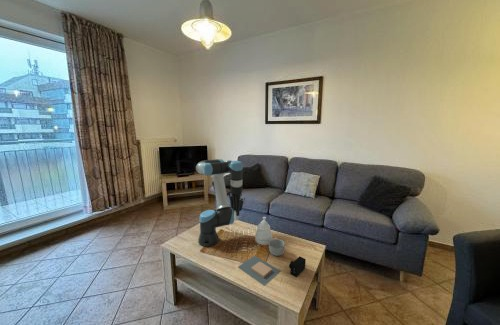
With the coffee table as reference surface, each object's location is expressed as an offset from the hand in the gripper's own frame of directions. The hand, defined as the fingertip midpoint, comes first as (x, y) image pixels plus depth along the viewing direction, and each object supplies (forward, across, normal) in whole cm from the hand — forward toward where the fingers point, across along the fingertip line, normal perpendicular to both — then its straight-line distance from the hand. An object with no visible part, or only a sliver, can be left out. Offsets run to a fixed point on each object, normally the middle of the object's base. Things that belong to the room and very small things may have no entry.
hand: (236, 219), depth 137 cm
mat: (+26, +21, -1) cm, 33 cm away
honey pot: (+27, +3, +27) cm, 38 cm away
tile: (+25, +18, -1) cm, 30 cm away
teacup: (+27, +18, +21) cm, 39 cm away
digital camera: (+26, +39, +14) cm, 49 cm away
